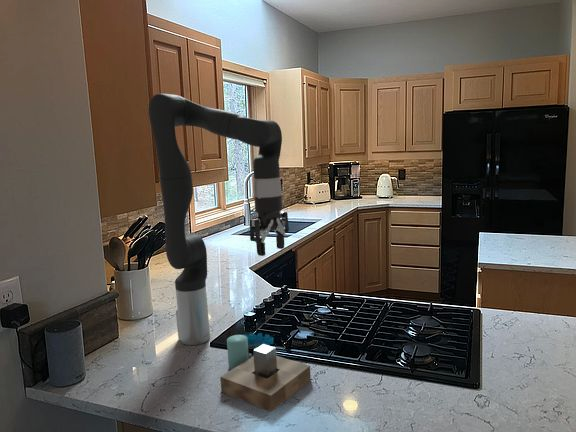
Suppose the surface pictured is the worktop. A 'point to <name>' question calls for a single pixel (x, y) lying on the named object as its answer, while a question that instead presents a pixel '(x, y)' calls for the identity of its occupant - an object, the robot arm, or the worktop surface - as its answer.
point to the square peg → (265, 361)
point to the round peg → (237, 350)
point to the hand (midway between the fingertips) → (271, 251)
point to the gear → (258, 340)
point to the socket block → (265, 383)
